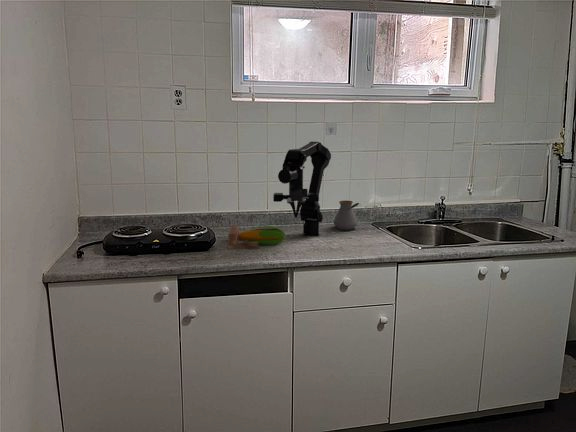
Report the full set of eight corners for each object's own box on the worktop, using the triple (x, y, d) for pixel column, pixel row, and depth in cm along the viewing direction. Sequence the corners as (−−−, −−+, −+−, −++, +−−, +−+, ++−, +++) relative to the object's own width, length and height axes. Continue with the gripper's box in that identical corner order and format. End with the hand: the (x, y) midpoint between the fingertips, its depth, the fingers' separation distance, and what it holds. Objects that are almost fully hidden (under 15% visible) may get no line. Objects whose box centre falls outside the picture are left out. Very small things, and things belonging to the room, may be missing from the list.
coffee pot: (330, 226, 235) (330, 195, 232) (352, 224, 238) (353, 194, 235) (345, 236, 215) (346, 203, 212) (369, 235, 218) (370, 202, 214)
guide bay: (259, 239, 210) (259, 225, 209) (258, 248, 196) (258, 234, 194) (232, 239, 210) (231, 225, 209) (228, 248, 196) (228, 234, 194)
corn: (285, 228, 198) (236, 227, 198) (285, 246, 199) (236, 245, 200) (285, 225, 205) (238, 224, 206) (285, 242, 206) (238, 242, 207)
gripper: (273, 183, 192) (273, 221, 195) (320, 183, 192) (320, 221, 196) (273, 179, 202) (273, 215, 206) (317, 179, 203) (317, 215, 206)
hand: (295, 217), depth 203 cm, fingers closed
